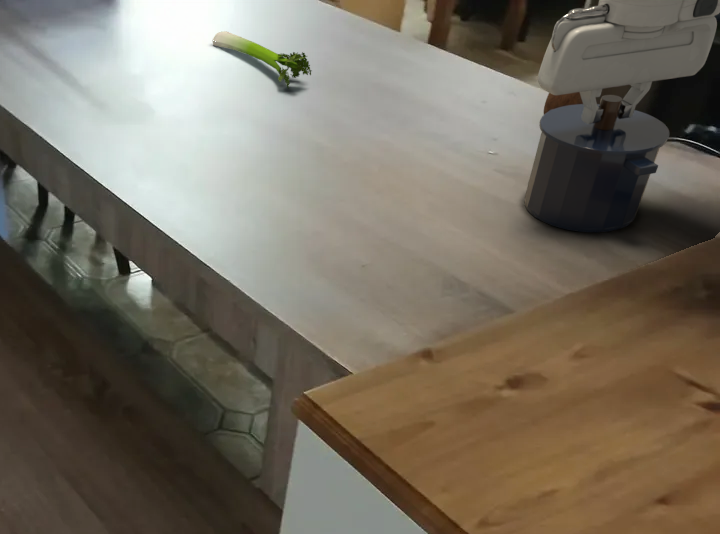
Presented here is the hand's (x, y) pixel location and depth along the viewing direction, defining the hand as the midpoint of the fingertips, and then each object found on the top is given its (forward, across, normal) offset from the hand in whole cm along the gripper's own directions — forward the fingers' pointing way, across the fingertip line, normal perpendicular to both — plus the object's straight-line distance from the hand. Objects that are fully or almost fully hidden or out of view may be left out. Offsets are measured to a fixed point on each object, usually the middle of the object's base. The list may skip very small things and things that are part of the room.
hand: (606, 119), depth 115 cm
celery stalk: (+12, -22, +65) cm, 70 cm away
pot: (+12, 0, 0) cm, 12 cm away
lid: (+1, 0, 0) cm, 1 cm away
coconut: (+12, +12, +24) cm, 29 cm away
